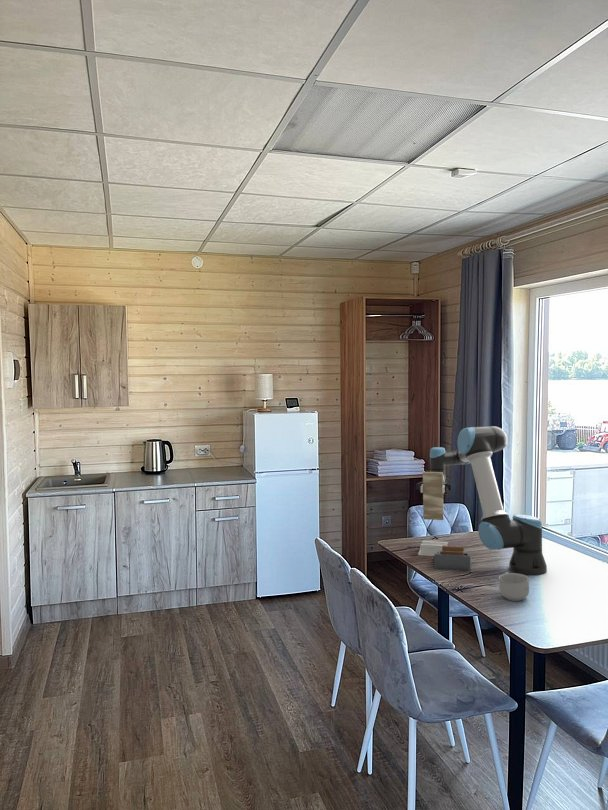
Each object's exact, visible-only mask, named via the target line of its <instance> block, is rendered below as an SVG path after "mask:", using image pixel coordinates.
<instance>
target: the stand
mask: <svg viewBox="0 0 608 810" xmlns="http://www.w3.org/2000/svg"><path fill="white" fill-rule="evenodd" d="M448 544H449V542H448V541H436V540H435V541H434V540H421V543H420V544H419V545H420V546H419V547H420V548H419V551H418V553H417V556H426V557H434V554H437V552H439V554H440V551H442V546H443V545H446V546H449V545H448Z"/></svg>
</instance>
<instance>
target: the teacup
mask: <svg viewBox="0 0 608 810" xmlns="http://www.w3.org/2000/svg"><path fill="white" fill-rule="evenodd" d="M529 580H530V577H528V576H527V575H526V574H521V573H517V572H511V573H510V572H508V571H505V572H504V573H503V574H500V575H499V576H498V586H499V592H500V594H501V595H502V596H503V597H504V598H505V599H506V600H509V601H513V602H518V601H519V602H521V601H523V600H525V599H526V598H527V597H528V596H529V593H530V581H529Z"/></svg>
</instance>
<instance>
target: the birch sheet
mask: <svg viewBox="0 0 608 810" xmlns="http://www.w3.org/2000/svg"><path fill="white" fill-rule="evenodd" d="M422 481H423V493H422V505H423V507H422V508H423V509H422V510H423V515H422V516H423V520H430V521H433V520H434V521H444V518H445V517H444V494H443V493H442V487H443V472H430V471H422Z"/></svg>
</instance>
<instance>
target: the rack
mask: <svg viewBox="0 0 608 810" xmlns="http://www.w3.org/2000/svg"><path fill="white" fill-rule="evenodd" d="M433 557H434V563H433V568H434V569H435V570H436V569H437V570H450V571H452V570H453V571H463V572H471V571H472V570H471V568H472V553H468V552H464V555H449V554H442V551H440V554H439V552H437V554H434V556H433Z"/></svg>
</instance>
